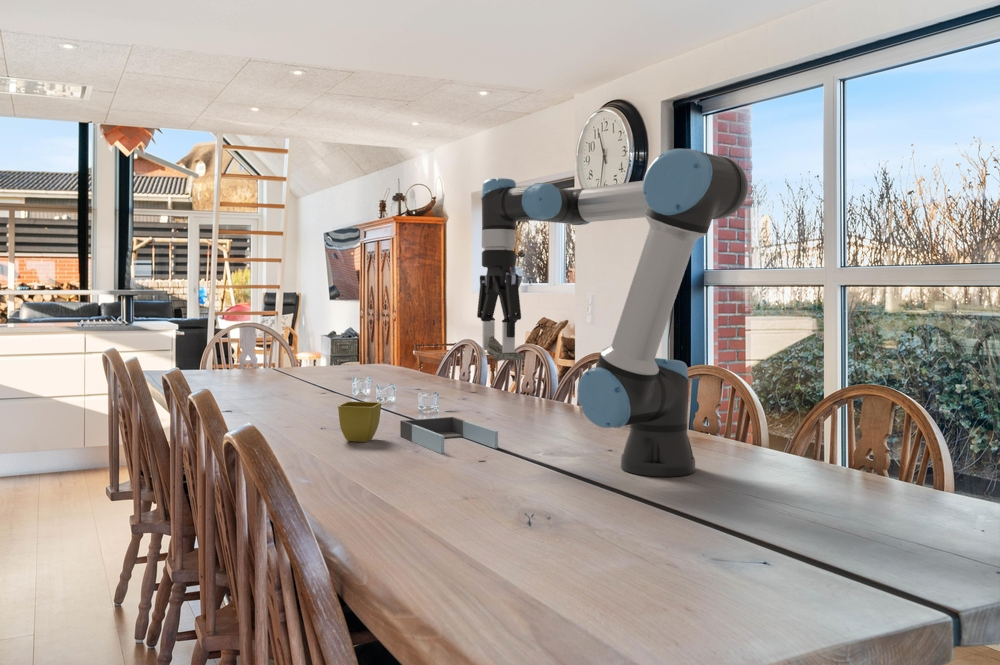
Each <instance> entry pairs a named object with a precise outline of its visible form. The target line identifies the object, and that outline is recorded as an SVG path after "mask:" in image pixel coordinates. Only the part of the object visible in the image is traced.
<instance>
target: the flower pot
mask: <svg viewBox="0 0 1000 665" xmlns="http://www.w3.org/2000/svg"><path fill="white" fill-rule="evenodd" d="M382 404H383V402H377V401H376V402H375V401H345V402H343V403H341V404H339V405H338V406H337V409H338V420H339V426H340V431H341V432H342V434H343V437H344V438H345V440H346V441H347V442H362V443H367V442H370V441H371V440H372V439H373V438H374V436H375V434H376V432H377V430H378V427H379V425H380V418H381V410H382Z"/></svg>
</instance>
